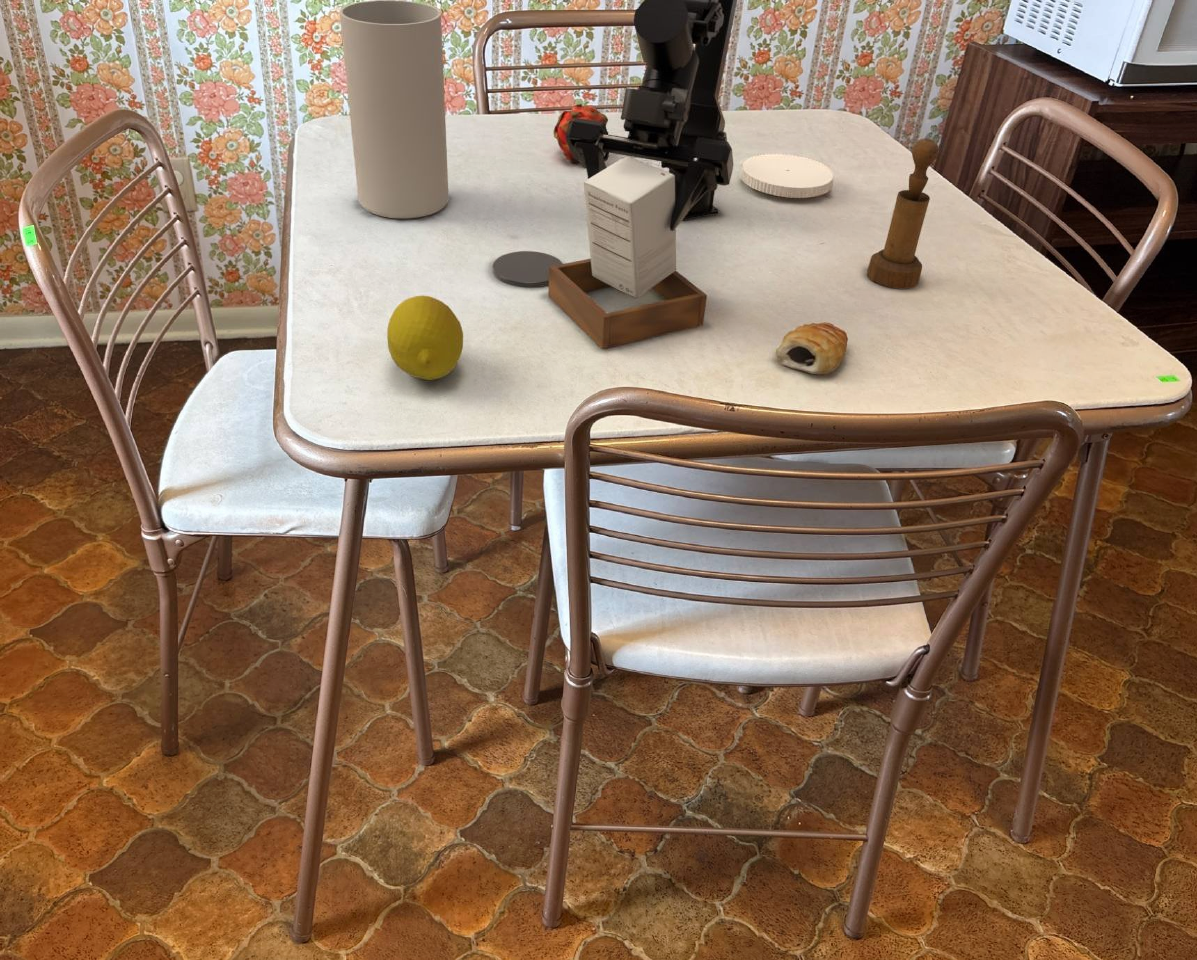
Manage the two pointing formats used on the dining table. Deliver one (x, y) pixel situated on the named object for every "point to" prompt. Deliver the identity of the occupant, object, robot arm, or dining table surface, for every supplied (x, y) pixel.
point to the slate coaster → (524, 268)
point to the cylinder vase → (396, 106)
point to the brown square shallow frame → (627, 324)
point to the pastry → (813, 348)
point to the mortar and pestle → (905, 226)
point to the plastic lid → (787, 175)
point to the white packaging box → (631, 225)
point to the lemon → (425, 337)
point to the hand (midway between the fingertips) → (631, 222)
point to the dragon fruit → (567, 117)
